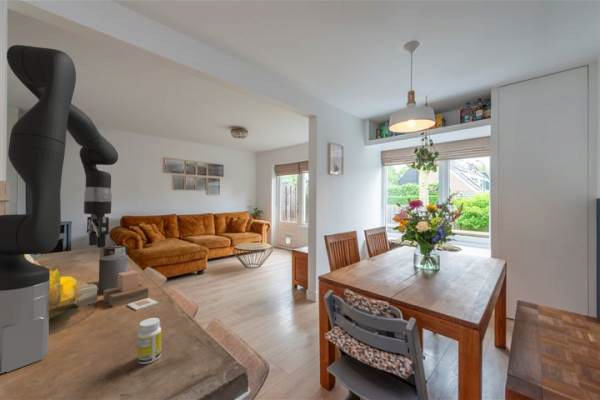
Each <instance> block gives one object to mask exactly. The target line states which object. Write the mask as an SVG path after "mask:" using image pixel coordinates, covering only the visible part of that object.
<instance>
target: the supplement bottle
mask: <svg viewBox="0 0 600 400" xmlns="http://www.w3.org/2000/svg"><path fill="white" fill-rule="evenodd" d="M160 322H161V320H160V319H159V318H158V317H151V318H150V317H149V318H146V319H144V320H142V321H140V323H139V328H138V329H139V331H138V333H137V337H136V338H137V340H136V341H137V342H136V343H137V344H136V346H137V347H136V348H137V350H136V351H137V352H136V353H137V354H136V357H137V358H136V361H137V363H139V364H141V365H148V364H152V363H154V362H155V361H157V360H158V359H159V358H160V357H162V327H161V325H160V324H161V323H160Z"/></svg>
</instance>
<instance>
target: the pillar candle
mask: <svg viewBox="0 0 600 400" xmlns="http://www.w3.org/2000/svg"><path fill="white" fill-rule="evenodd" d="M98 263H99V264H98V293H99V294H100V293H102V294H101V295H103V290H107V289H111V288H116V287H118V273H122V272H127V271H129V255H110V256H105V257H101V258H100V257H99V260H98Z"/></svg>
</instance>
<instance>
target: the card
mask: <svg viewBox="0 0 600 400" xmlns="http://www.w3.org/2000/svg"><path fill="white" fill-rule="evenodd" d="M158 304H159V302H158V301H157V300H154V299H152V298H150V297H148V298H146V299H142V300H139V301H135V302H131V303H128V304H126V306H127V307H129V308H131V309H132V310H134V311H140V310H142V309H145V308H148V307H151V306H154V305H158Z"/></svg>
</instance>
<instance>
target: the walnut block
mask: <svg viewBox="0 0 600 400" xmlns="http://www.w3.org/2000/svg"><path fill="white" fill-rule="evenodd" d="M102 296H103V297H102V298H103V299H104V300H105V301H106V302H107V303H106V302H105V301H104V300H103V301H104V302H105V303H106V304H108V305H109V306H110V305H111V306H112V307H111V306H110V307H111V308H117V307H120V306H124V305H127V304H130V303H133V302H136V301H140V300H143V299H147V298H149V288H148V287H146V286H144V285H142V284H140V283H139V282H138V288H137V289H133V290H129V291H125V292H121V291H120V290H118V287H116V288H111V289H107V290H103V294H102Z"/></svg>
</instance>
